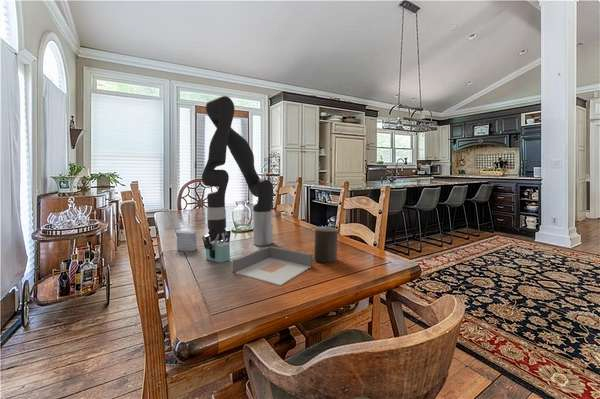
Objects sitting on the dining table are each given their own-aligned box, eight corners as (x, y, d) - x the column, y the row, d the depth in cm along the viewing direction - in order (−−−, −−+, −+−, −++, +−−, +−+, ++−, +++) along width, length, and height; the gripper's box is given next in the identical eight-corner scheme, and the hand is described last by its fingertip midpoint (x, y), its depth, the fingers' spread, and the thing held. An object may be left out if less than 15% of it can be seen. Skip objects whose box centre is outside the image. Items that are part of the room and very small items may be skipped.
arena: (269, 256, 124) (268, 245, 124) (312, 266, 113) (312, 254, 112) (232, 272, 106) (232, 259, 105) (280, 285, 94) (280, 271, 93)
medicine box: (197, 248, 135) (196, 231, 134) (193, 251, 131) (192, 233, 130) (181, 248, 136) (181, 230, 135) (176, 251, 132) (176, 232, 131)
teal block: (215, 255, 124) (214, 239, 123) (229, 259, 120) (229, 242, 119) (206, 259, 120) (205, 242, 119) (221, 262, 115) (220, 245, 114)
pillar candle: (321, 265, 114) (323, 229, 112) (310, 258, 123) (311, 224, 121) (341, 261, 119) (342, 227, 117) (328, 255, 127) (329, 222, 125)
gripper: (223, 214, 126) (224, 250, 128) (196, 219, 113) (198, 259, 115) (235, 215, 122) (236, 253, 124) (209, 221, 110) (210, 263, 112)
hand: (217, 256), depth 120 cm, fingers closed on teal block, 5 cm apart
